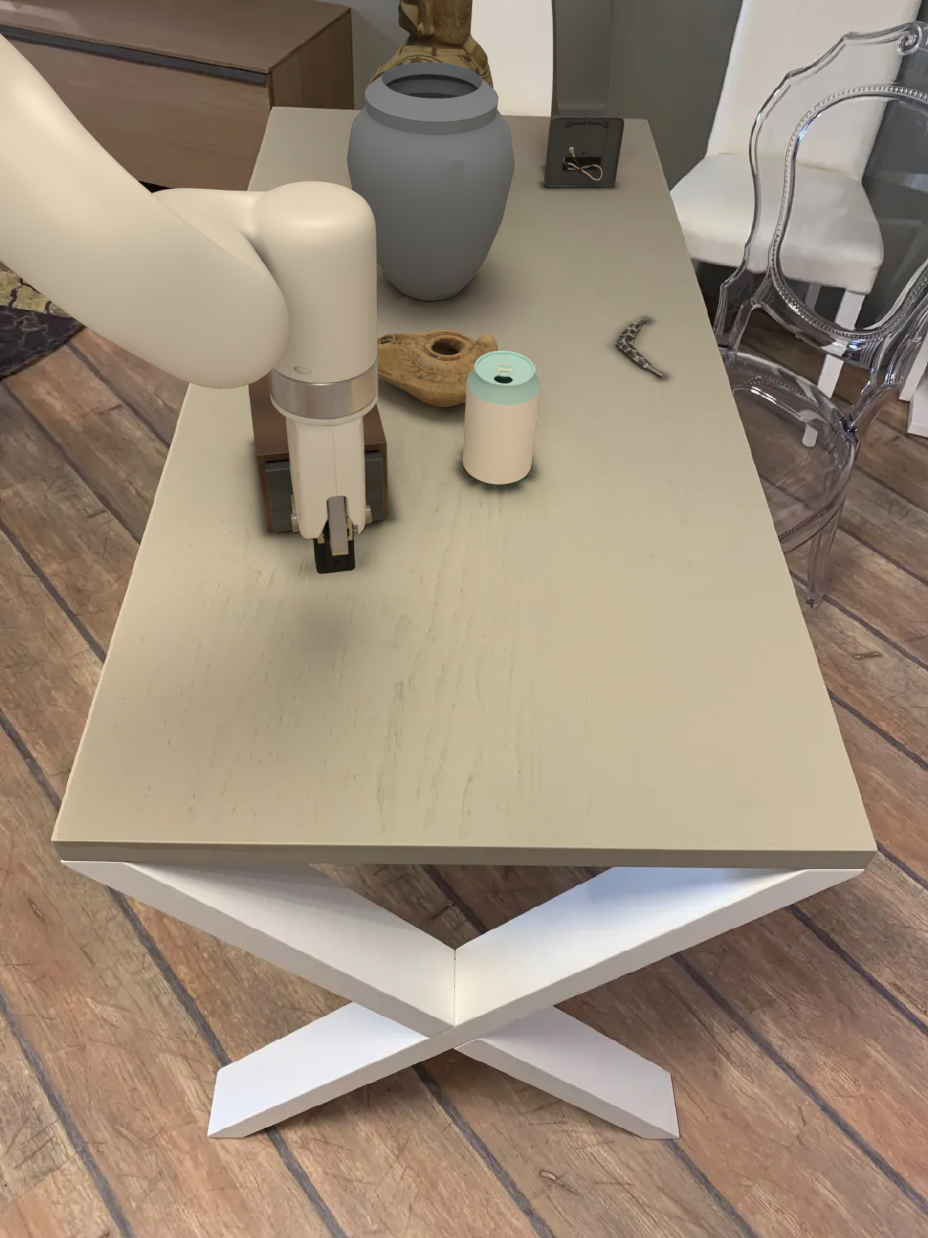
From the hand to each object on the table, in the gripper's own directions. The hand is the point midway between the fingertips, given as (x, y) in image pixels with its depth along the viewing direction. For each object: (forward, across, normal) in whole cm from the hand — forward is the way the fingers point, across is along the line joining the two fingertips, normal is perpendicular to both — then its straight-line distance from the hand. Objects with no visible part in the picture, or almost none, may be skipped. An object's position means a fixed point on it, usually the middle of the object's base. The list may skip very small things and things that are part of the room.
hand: (335, 565), depth 79 cm
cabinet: (+6, -18, +1) cm, 19 cm away
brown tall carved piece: (+5, -86, +25) cm, 90 cm away
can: (+6, -17, +19) cm, 26 cm away
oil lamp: (+6, -31, +15) cm, 35 cm away
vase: (+5, -54, +19) cm, 58 cm away
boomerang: (+5, -36, +40) cm, 55 cm away
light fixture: (+5, -88, +48) cm, 100 cm away
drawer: (+5, -14, +1) cm, 15 cm away
